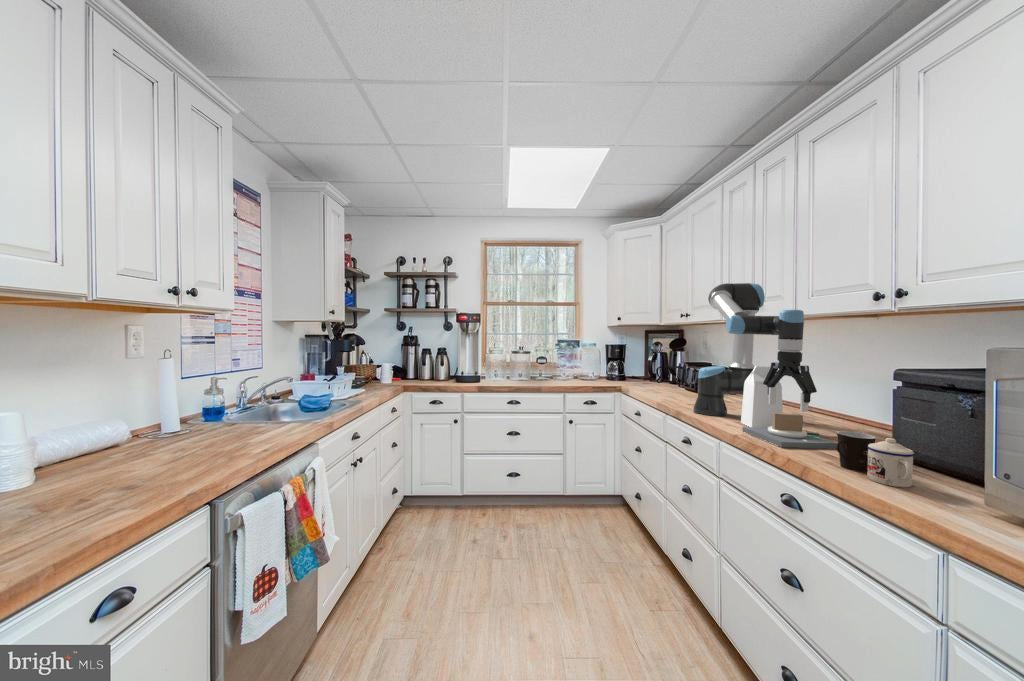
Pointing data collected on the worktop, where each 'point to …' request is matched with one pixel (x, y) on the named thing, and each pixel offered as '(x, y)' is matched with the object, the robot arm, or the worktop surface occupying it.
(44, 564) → the worktop surface
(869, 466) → the teacup with lid
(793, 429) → the dial
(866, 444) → the coffee mug
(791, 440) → the dial board
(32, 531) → the worktop surface
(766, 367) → the milk
